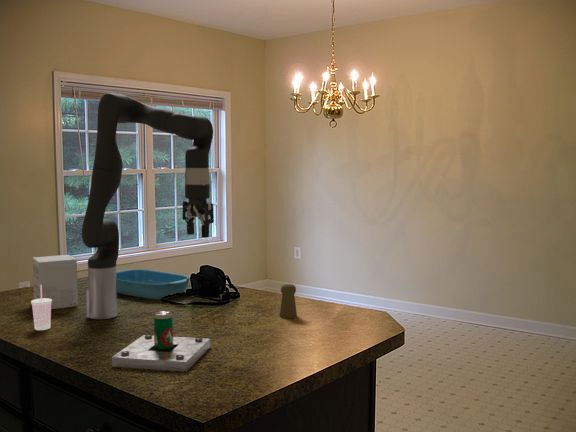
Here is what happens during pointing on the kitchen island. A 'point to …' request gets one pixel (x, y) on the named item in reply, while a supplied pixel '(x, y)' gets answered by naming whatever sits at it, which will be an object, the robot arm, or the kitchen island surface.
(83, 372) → the kitchen island surface
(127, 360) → the socket plate
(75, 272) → the supplement box
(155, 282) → the casserole dish
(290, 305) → the cork
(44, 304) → the beverage cup
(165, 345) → the soda can
